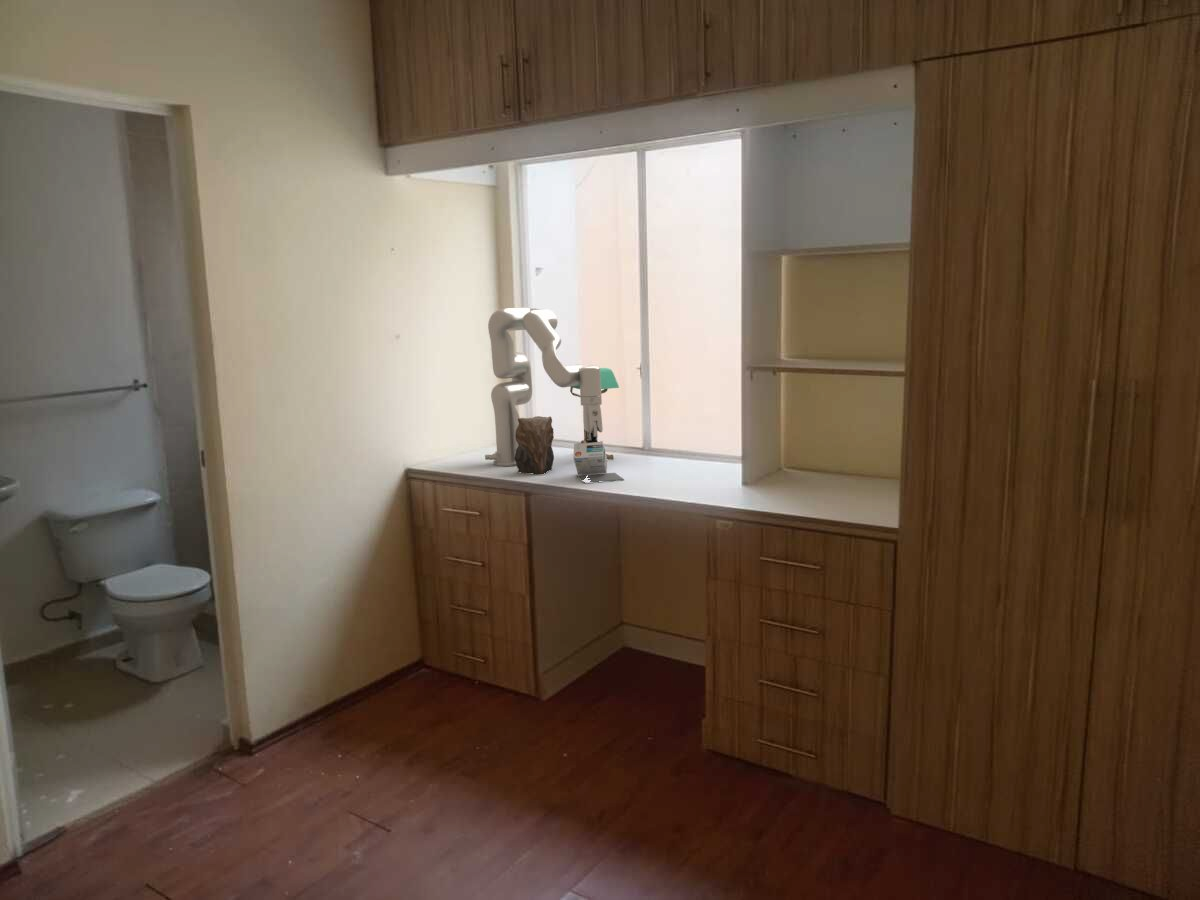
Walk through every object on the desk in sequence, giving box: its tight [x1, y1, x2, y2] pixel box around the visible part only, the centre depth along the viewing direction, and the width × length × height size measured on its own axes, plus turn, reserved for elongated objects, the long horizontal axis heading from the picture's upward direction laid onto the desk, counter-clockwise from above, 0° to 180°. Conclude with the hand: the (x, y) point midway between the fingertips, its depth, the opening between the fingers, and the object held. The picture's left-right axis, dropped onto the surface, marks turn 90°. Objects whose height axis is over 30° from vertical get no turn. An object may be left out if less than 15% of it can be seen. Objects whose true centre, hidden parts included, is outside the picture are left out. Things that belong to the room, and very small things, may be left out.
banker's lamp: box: [569, 367, 620, 460], centre depth 343 cm, size 16×21×35 cm
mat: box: [576, 472, 625, 483], centre depth 305 cm, size 14×12×1 cm
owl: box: [514, 415, 555, 475], centre depth 321 cm, size 13×13×20 cm
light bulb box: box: [573, 440, 608, 476], centre depth 309 cm, size 11×7×11 cm
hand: (593, 451), depth 313 cm, fingers closed
